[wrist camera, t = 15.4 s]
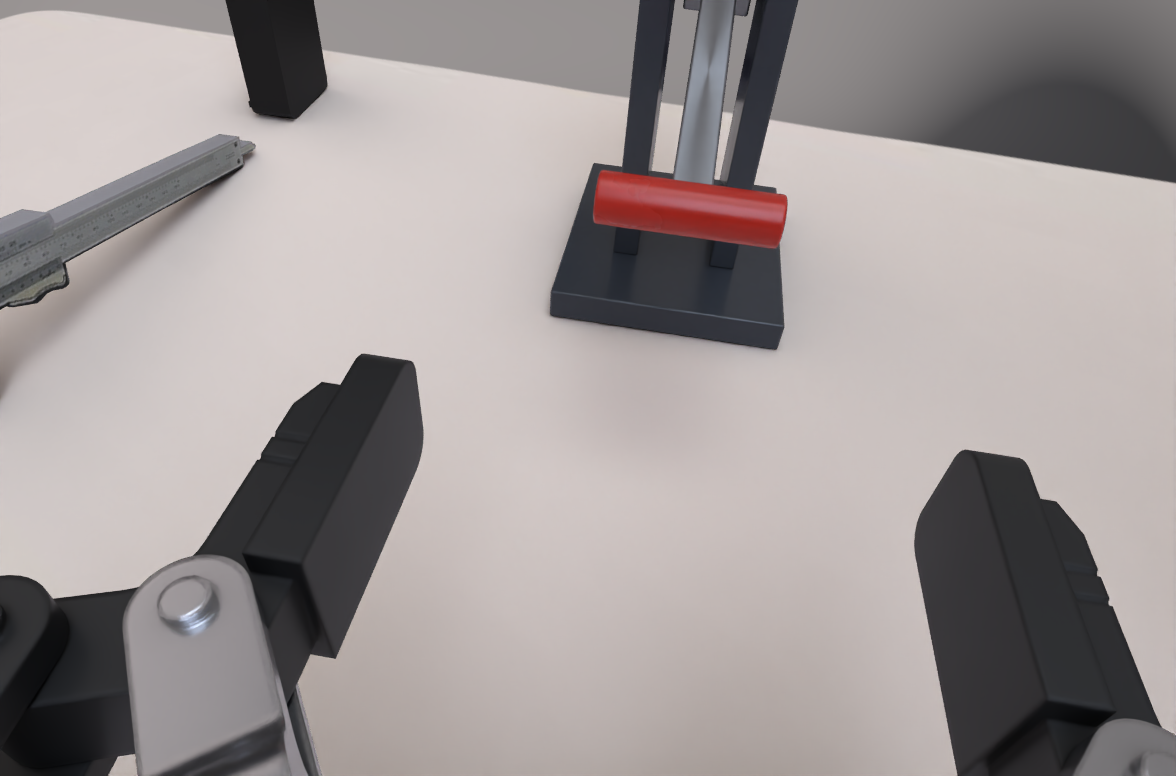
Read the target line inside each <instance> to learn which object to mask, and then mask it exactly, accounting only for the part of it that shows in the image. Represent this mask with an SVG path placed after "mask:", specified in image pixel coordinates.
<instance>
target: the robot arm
mask: <svg viewBox="0 0 1176 776" xmlns="http://www.w3.org/2000/svg"><path fill="white" fill-rule="evenodd" d="M275 432H276V434H275V437H272V438H271V439H270V441H269V442H268V444H267V445H266V447H265V448H264V450H263V452H262V453H261V459H260V460H257V461H256V462H255V464H254V466H253V467H252V469H251V470H250V472H249V473H248V475H247V477H246V478H245V480H244V481H243V483H242V484H241V486H240V487H239V489H238V491H237V492H236V494H235V495H234V497H233V498H232V500H231V501H230V503H229V505H228V506H227V508H226V509H225V511H224V512H223V514H222V515H221V517H220V519H219V520H218V522H217V523H216V525H215V526H214V528H213V529H212V531H211V533H210V534H209V536H208V537H207V539H206V540H205V542H204V543H203V545H202V546H201V547H200V549H199V550H198V551H197V552H196V553H195V554H194V555H193V556H191V557H187V558H184V559H180V560H178V561H176V562H173V563H171V564H169V565H167V566H165V567H163V568H161V569H160V570H158V571H157V572H156V573H154V574H153V575H151V576H150V577H149V578H148V579H147V580H146V581H145V582H143V583H142V584H141V586H140V587H137V588H132V589H127V590H121V591H113V592H104V593H96V594H88V595H80V596H72V597H64V598H56V599H53V598H52V597H51V596H50V595H49V593H48V592H47V591H46V590H45V588H44V587H43V586H42V585H41V584H39V583H38V582H37V581H35V580H33V579H30V578H28V577H23V576H15V575H5V576H0V776H108V774H109V772H110V771H111V769H112V767H113V765H114V763H115V761H116V759H117V757H118V756H124V755H131V754H136V764H137V774H138V776H322V773H321V769H320V765H319V761H318V757H317V754H316V750H315V746H314V742H313V739H312V735H311V731H310V727H309V723H308V720H307V716H306V712H305V708H304V704H303V701H302V697H301V693H300V689H299V686H298V683H297V682H298V680H299V678H300V676H301V674H302V671H303V669H304V667H305V665H306V663H307V661H308V658H309V656H310V654H313V655H318V656H323V657H329V658H334V659H336V657H337V654H338V652H339V650H340V647H341V645H342V643H343V640H344V638H345V636H346V633H347V631H348V629H349V626H350V624H351V622H352V619H353V617H354V615H355V612H356V610H357V608H358V605H359V603H360V601H361V598H362V596H363V594H364V591H365V589H366V587H367V584H368V582H369V580H370V577H371V575H372V573H373V570H374V568H375V566H376V563H377V561H378V559H379V556H380V554H381V552H382V549H383V547H384V545H385V542H386V540H387V538H388V535H389V533H390V531H391V528H392V526H393V524H394V521H395V519H396V517H397V514H398V512H399V510H400V507H401V505H402V503H403V500H404V498H405V496H406V493H407V491H408V489H409V486H410V484H411V482H412V479H413V477H414V475H415V472H416V470H417V467H418V464H419V461H420V457H421V453H422V447H423V422H422V415H421V407H420V399H419V391H418V384H417V376H416V369H415V366H414V364H413V362H412V361H408V360H402V359H396V358H389V357H383V356H377V355H370V354H361V355H359V356H358V357H357V358H356V360H355V361H354V363H353V364H352V366H351V368H350V370H349V371H348V373H347V375H346V376H345V378H344V380H343V381H342V383H341V385H338V384H331V383H325V382H321V383H320V384H319V385H317V386H316V387H315V388H313V389H312V390H311V391H309V392H308V393H307V394H305V395H304V396H303V397H302V398H300V399H299V400H298V401H296V402H295V403H294V404H293V405H292V406H291V408H290V410H289V411H288V413H287V414H286V416H285V417H284V419H283V420H282V422H281V424H280V425H279V427H278V428H277V430H276V431H275ZM914 548H915V557H916V562H917V567H918V572H919V577H920V583H921V588H922V593H923V598H924V603H925V609H926V614H927V619H928V624H929V629H930V635H931V640H932V645H933V650H934V655H935V660H936V666H937V671H938V676H939V681H940V686H941V692H942V697H943V702H944V707H945V712H946V718H947V723H948V728H949V733H950V738H951V744H952V749H953V754H954V759H955V764H956V770H957V775H958V776H1176V736H1175V735H1174V734H1172V733H1170V732H1169V731H1167V730H1165V729H1163V728H1162V727H1161V725H1160V723H1159V721H1158V719H1157V717H1156V714H1155V712H1154V710H1153V707H1152V705H1151V702H1150V700H1149V697H1148V694H1147V692H1146V689H1145V687H1144V684H1143V682H1142V679H1141V677H1140V674H1139V672H1138V669H1137V667H1136V664H1135V662H1134V659H1133V657H1132V654H1131V652H1130V649H1129V647H1128V644H1127V642H1126V639H1125V637H1124V634H1123V632H1122V629H1121V627H1120V624H1119V622H1118V619H1117V617H1116V614H1115V612H1114V609H1113V606H1109V604H1108V601H1109V596H1108V594H1107V591H1106V589H1105V586H1104V584H1103V581H1102V579H1101V577H1098V576H1097V571H1098V569H1097V566H1096V564H1095V561H1094V559H1093V556H1092V554H1091V551H1090V549H1089V546H1088V544H1087V541H1086V539H1085V536H1084V534H1083V533H1082V532H1081V531H1080V529H1079V528H1078V527H1077V526H1076V525H1075V523H1074V522H1073V521H1072V520H1071V519H1070V517H1069V516H1068V515H1067V514H1066V513H1065V511H1064V510H1063V509H1062V508H1061V507H1060V505H1059V504H1058V503H1057V502H1056V501H1050V500H1044V499H1040V497H1039V494H1038V491H1037V489H1036V486H1035V483H1034V480H1033V477H1032V475H1031V472H1030V469H1029V467H1028V465H1027V464H1026V462H1025V461H1024V460H1022V459H1020V458H1016V457H1009V456H1003V455H997V454H990V453H984V452H978V451H971V450H962V451H961V452H959V453H958V454H957V455H956V457H955V458H954V460H953V461H952V463H951V465H950V466H949V468H948V469H947V471H946V473H945V474H944V476H943V478H942V479H941V481H940V482H939V484H938V486H937V487H936V489H935V491H934V492H933V494H932V495H931V497H930V499H929V500H928V502H927V504H926V505H925V507H924V508H923V510H922V512H921V514H920V516H919V519H918V522H917V526H916V531H915V540H914Z"/></svg>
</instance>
